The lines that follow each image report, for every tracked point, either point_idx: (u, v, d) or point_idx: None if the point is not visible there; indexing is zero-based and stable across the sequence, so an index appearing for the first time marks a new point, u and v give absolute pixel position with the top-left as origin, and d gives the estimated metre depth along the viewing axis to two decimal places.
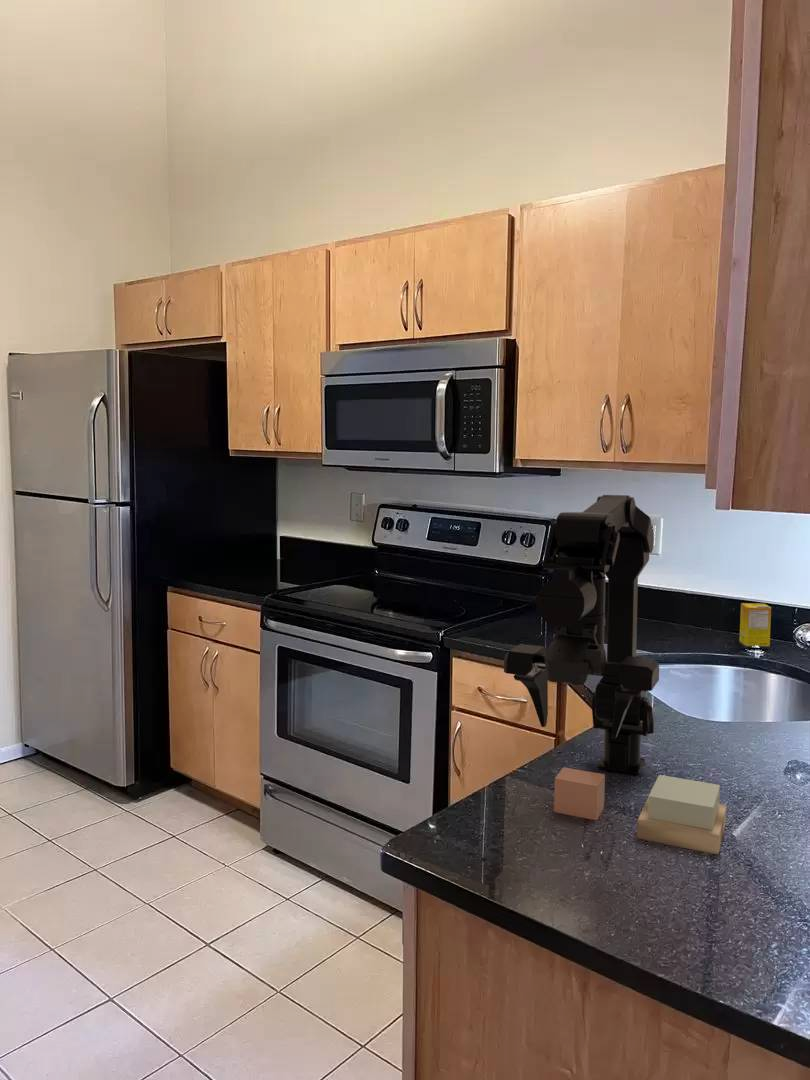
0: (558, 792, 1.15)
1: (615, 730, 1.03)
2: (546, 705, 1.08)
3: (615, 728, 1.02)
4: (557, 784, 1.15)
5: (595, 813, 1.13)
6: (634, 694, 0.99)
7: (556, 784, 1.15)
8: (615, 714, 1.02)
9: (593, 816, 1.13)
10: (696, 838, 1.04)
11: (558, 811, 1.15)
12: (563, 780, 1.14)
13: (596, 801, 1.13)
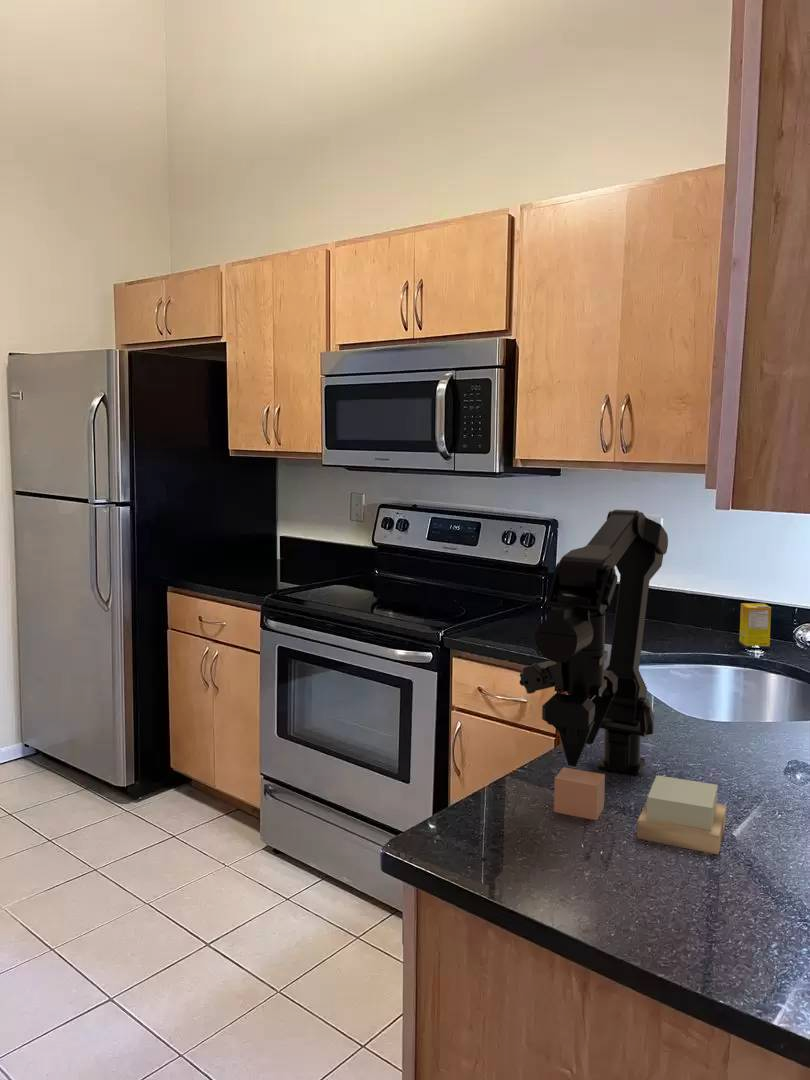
0: (558, 792, 1.15)
1: (567, 758, 1.11)
2: (594, 726, 1.19)
3: None
4: (557, 784, 1.15)
5: (595, 813, 1.13)
6: (546, 720, 1.09)
7: (556, 784, 1.15)
8: None
9: (593, 816, 1.13)
10: (696, 838, 1.04)
11: (558, 811, 1.15)
12: (563, 780, 1.14)
13: (596, 801, 1.13)
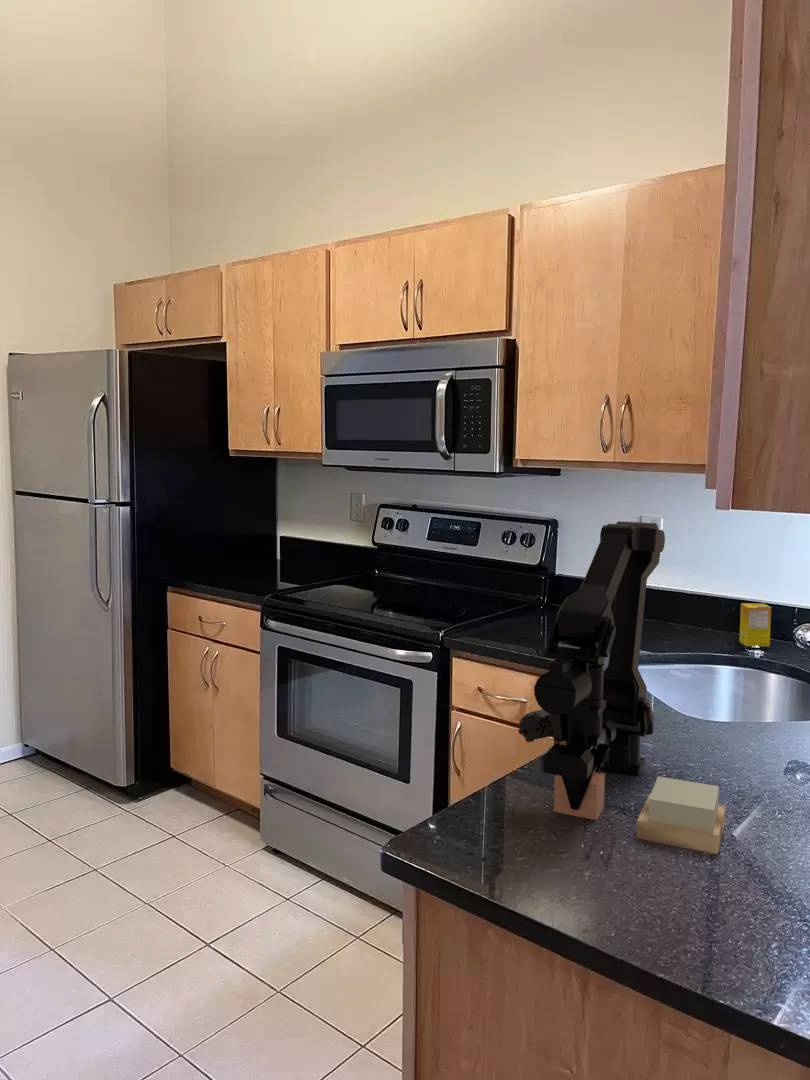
0: (558, 791, 1.15)
1: (570, 801, 1.14)
2: None
3: None
4: (557, 783, 1.15)
5: (595, 812, 1.13)
6: None
7: (556, 783, 1.15)
8: None
9: (593, 815, 1.13)
10: (695, 838, 1.04)
11: (558, 810, 1.15)
12: None
13: (596, 800, 1.13)
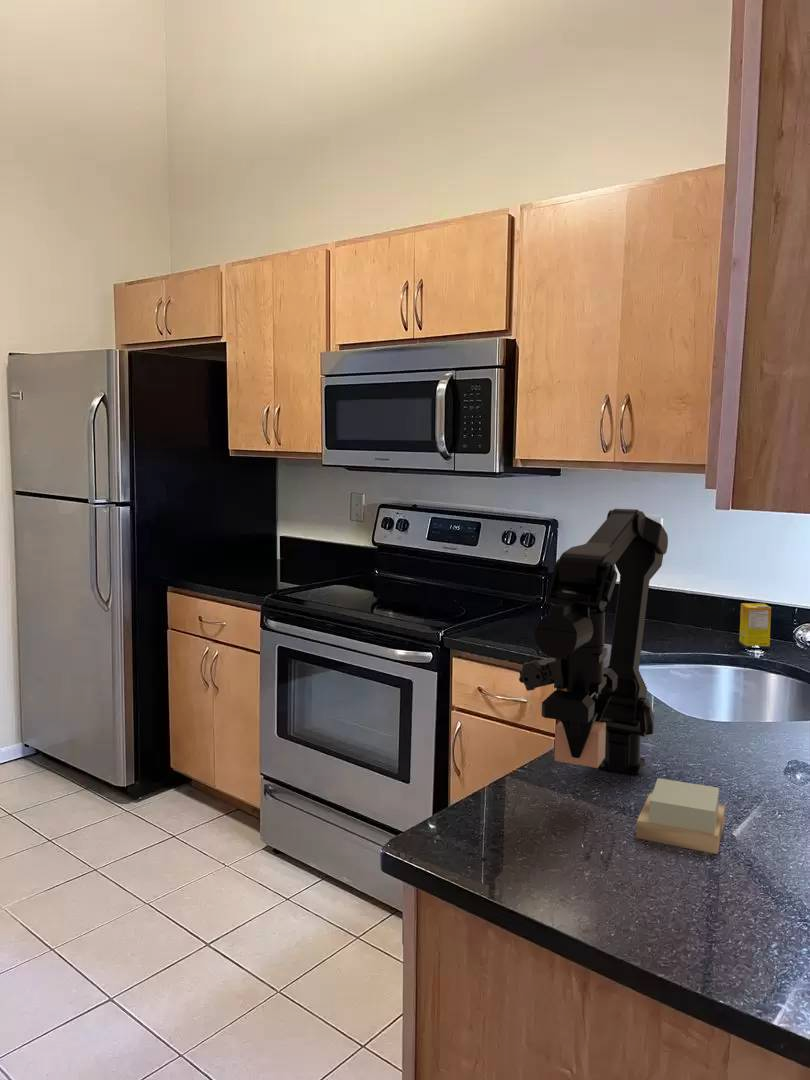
0: (559, 740, 1.14)
1: (571, 749, 1.13)
2: None
3: None
4: (558, 732, 1.14)
5: (596, 760, 1.12)
6: None
7: (557, 732, 1.14)
8: None
9: (594, 763, 1.12)
10: (695, 839, 1.04)
11: (559, 759, 1.14)
12: None
13: (597, 748, 1.12)
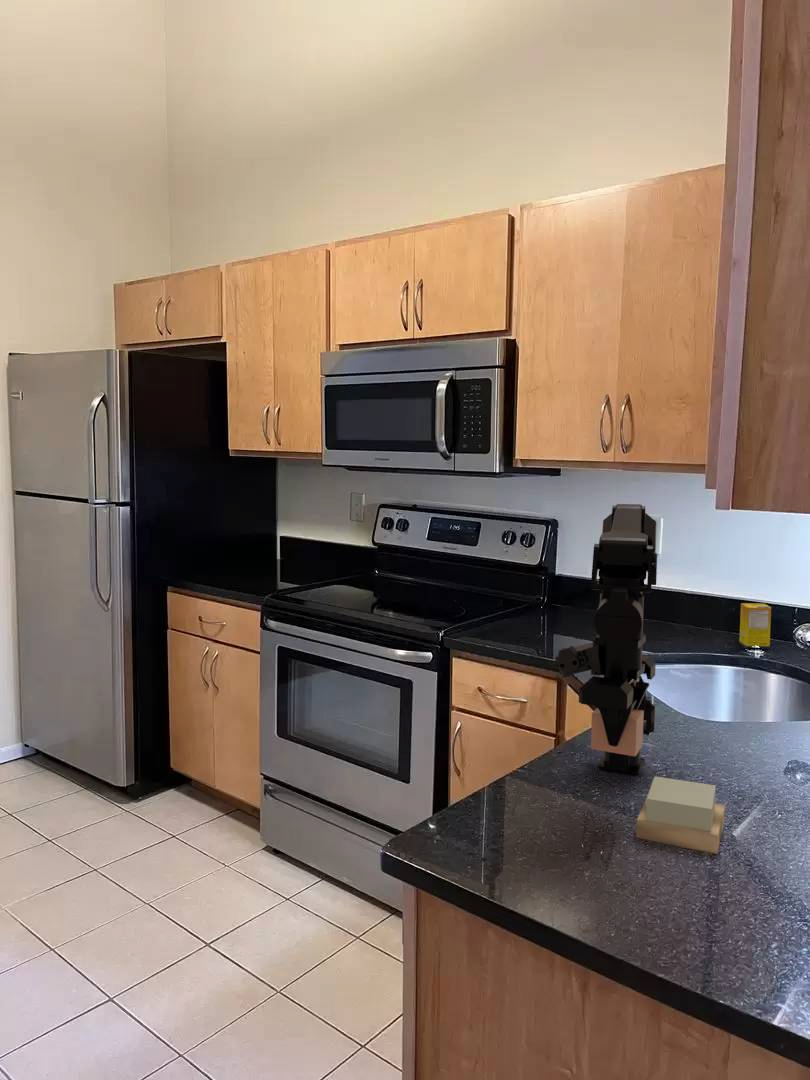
0: (595, 727, 1.12)
1: (608, 737, 1.10)
2: None
3: None
4: (594, 719, 1.12)
5: (634, 748, 1.09)
6: None
7: (593, 719, 1.12)
8: None
9: (631, 751, 1.10)
10: (694, 838, 1.05)
11: (595, 747, 1.12)
12: None
13: (635, 736, 1.09)
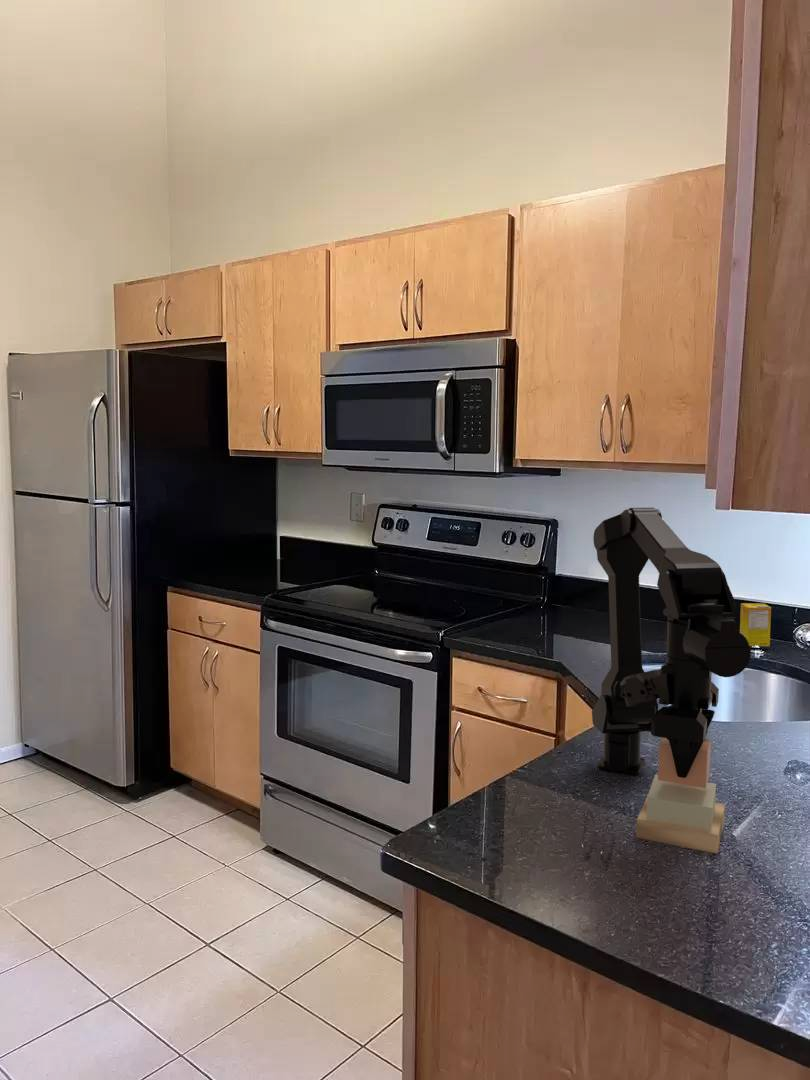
0: (663, 758, 1.08)
1: (677, 769, 1.07)
2: None
3: None
4: (662, 750, 1.08)
5: (704, 780, 1.06)
6: None
7: (661, 750, 1.08)
8: None
9: (702, 783, 1.06)
10: (695, 837, 1.05)
11: (662, 778, 1.08)
12: (668, 745, 1.08)
13: (705, 767, 1.06)
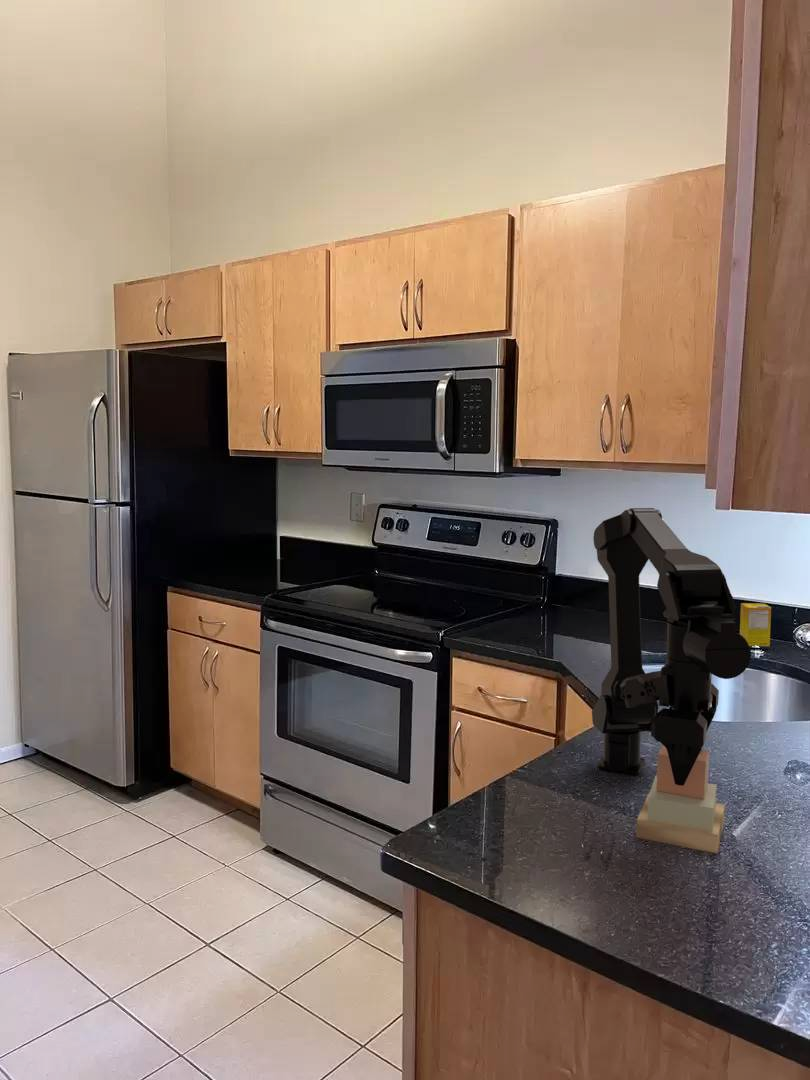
0: (661, 769, 1.09)
1: (674, 776, 1.05)
2: None
3: None
4: (660, 760, 1.09)
5: (703, 791, 1.07)
6: (654, 737, 1.03)
7: (659, 760, 1.09)
8: None
9: (700, 794, 1.07)
10: (695, 837, 1.05)
11: (661, 789, 1.09)
12: (667, 756, 1.08)
13: (704, 778, 1.07)
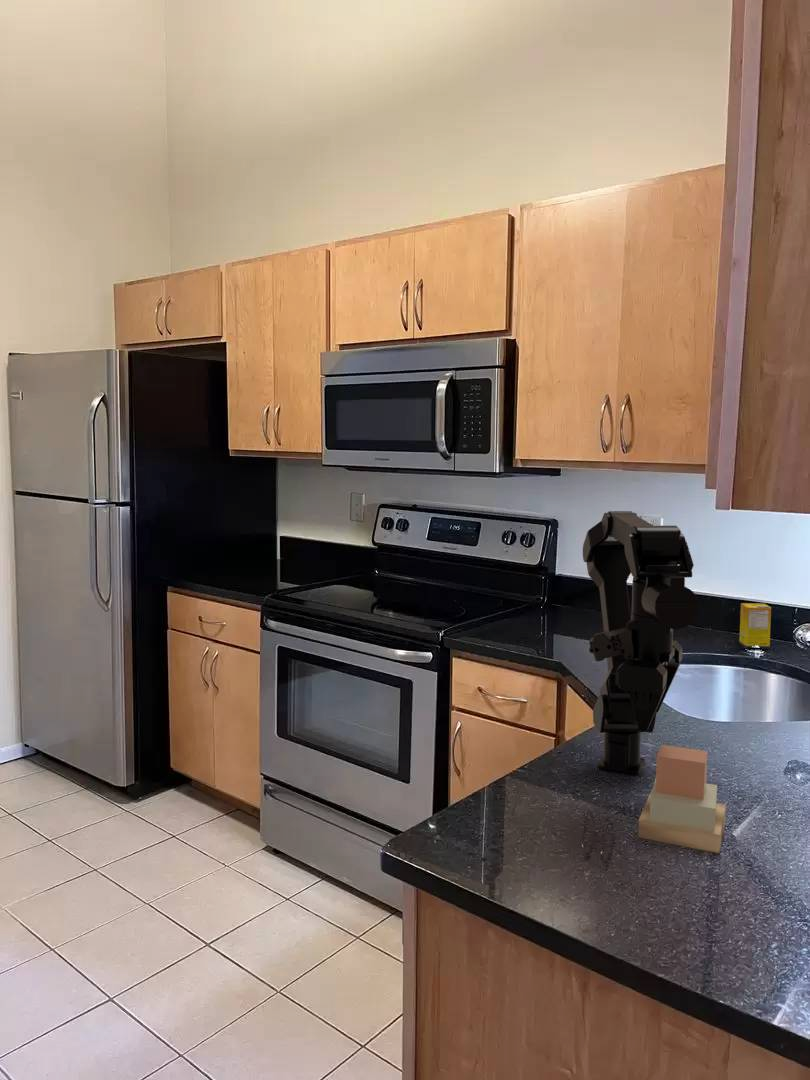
0: (661, 770, 1.09)
1: (638, 723, 1.13)
2: None
3: None
4: (659, 762, 1.09)
5: (702, 792, 1.07)
6: (618, 686, 1.11)
7: (658, 762, 1.09)
8: None
9: (699, 795, 1.07)
10: (697, 837, 1.05)
11: (660, 791, 1.09)
12: (666, 758, 1.08)
13: (703, 779, 1.07)
